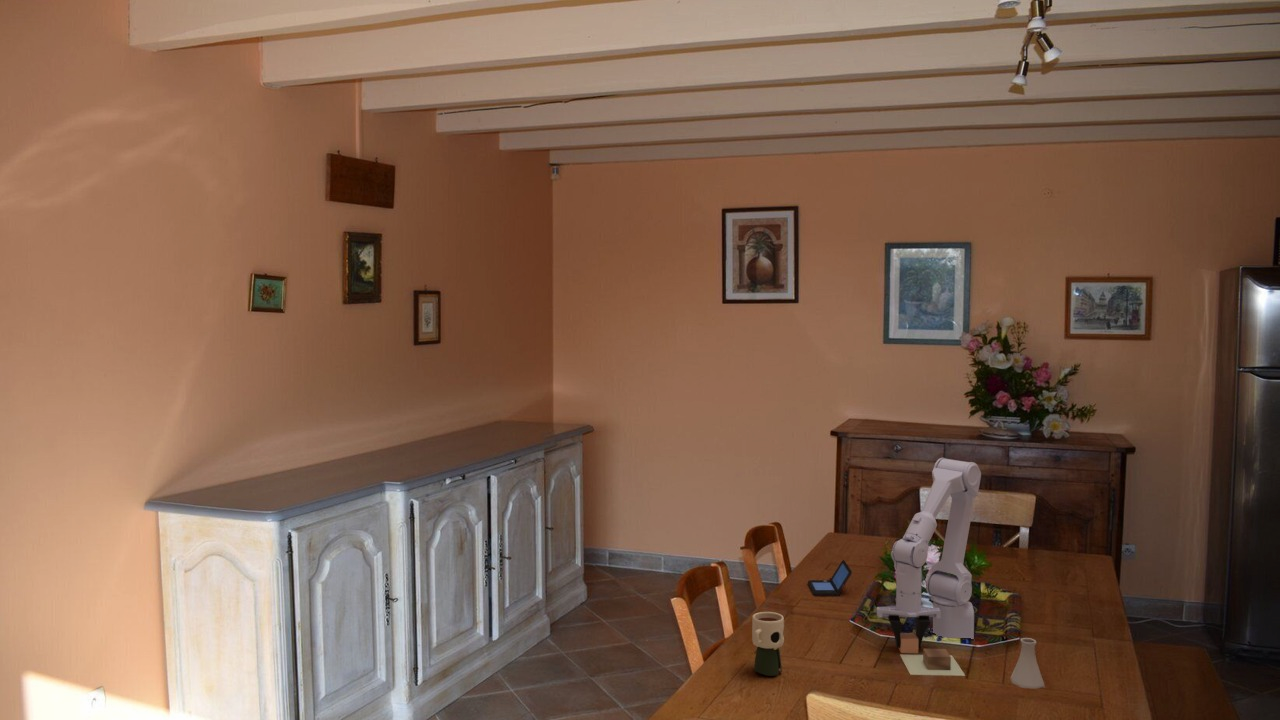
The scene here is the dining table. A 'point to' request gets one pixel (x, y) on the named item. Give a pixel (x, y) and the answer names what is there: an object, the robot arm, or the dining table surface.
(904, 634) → the terracotta cube
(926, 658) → the walnut base brick
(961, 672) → the plate
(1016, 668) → the flask
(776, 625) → the character mug
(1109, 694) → the dining table surface
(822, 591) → the handheld game console
